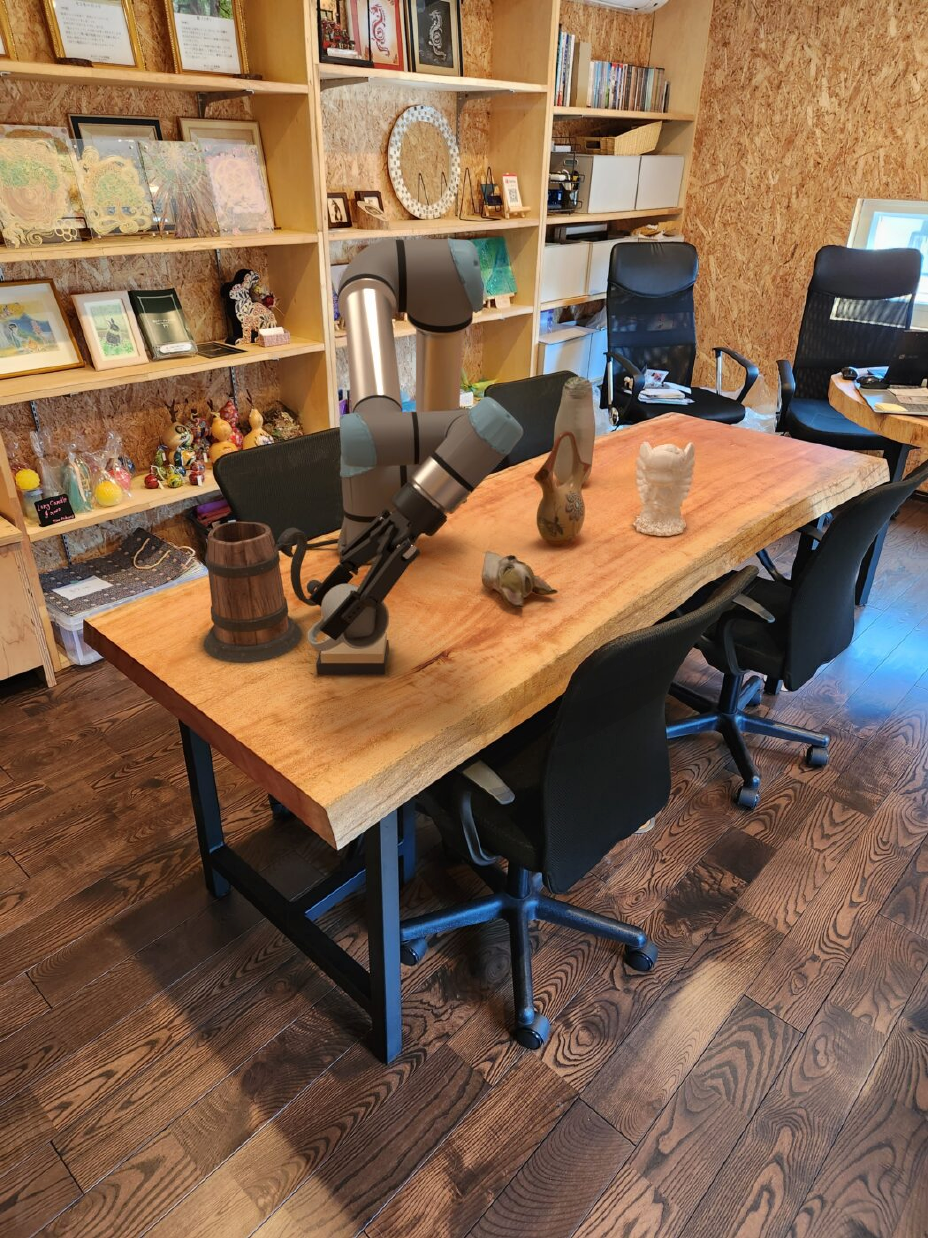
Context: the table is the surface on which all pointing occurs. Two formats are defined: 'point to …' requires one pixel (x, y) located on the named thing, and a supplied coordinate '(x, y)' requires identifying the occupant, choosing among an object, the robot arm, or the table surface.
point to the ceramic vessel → (561, 498)
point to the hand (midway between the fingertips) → (322, 618)
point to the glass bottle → (575, 426)
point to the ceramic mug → (360, 631)
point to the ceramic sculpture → (512, 579)
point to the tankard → (252, 592)
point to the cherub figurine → (663, 487)
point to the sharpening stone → (354, 659)
